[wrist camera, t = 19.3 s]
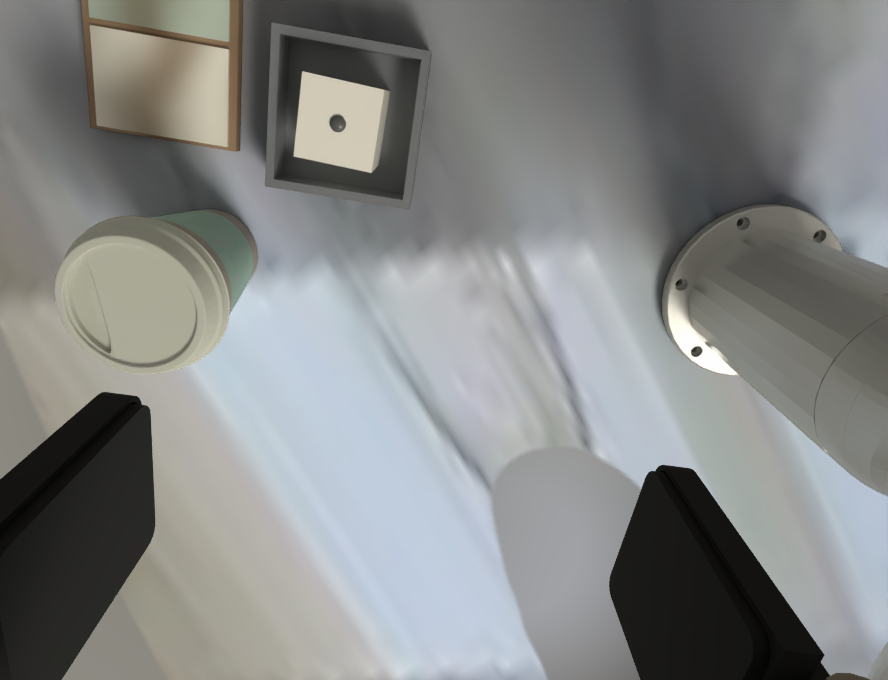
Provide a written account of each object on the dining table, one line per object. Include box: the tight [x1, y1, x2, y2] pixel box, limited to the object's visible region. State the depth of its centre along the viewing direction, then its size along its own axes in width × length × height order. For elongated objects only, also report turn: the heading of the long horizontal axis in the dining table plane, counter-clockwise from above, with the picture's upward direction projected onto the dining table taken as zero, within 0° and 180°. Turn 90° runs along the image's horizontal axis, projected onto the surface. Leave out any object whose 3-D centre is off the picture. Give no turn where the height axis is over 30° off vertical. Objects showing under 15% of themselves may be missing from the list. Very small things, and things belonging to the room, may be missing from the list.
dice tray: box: [265, 22, 432, 209], centre depth 35 cm, size 9×9×3 cm
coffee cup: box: [54, 209, 258, 374], centre depth 34 cm, size 8×8×12 cm
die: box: [294, 71, 390, 173], centre depth 34 cm, size 5×5×5 cm
